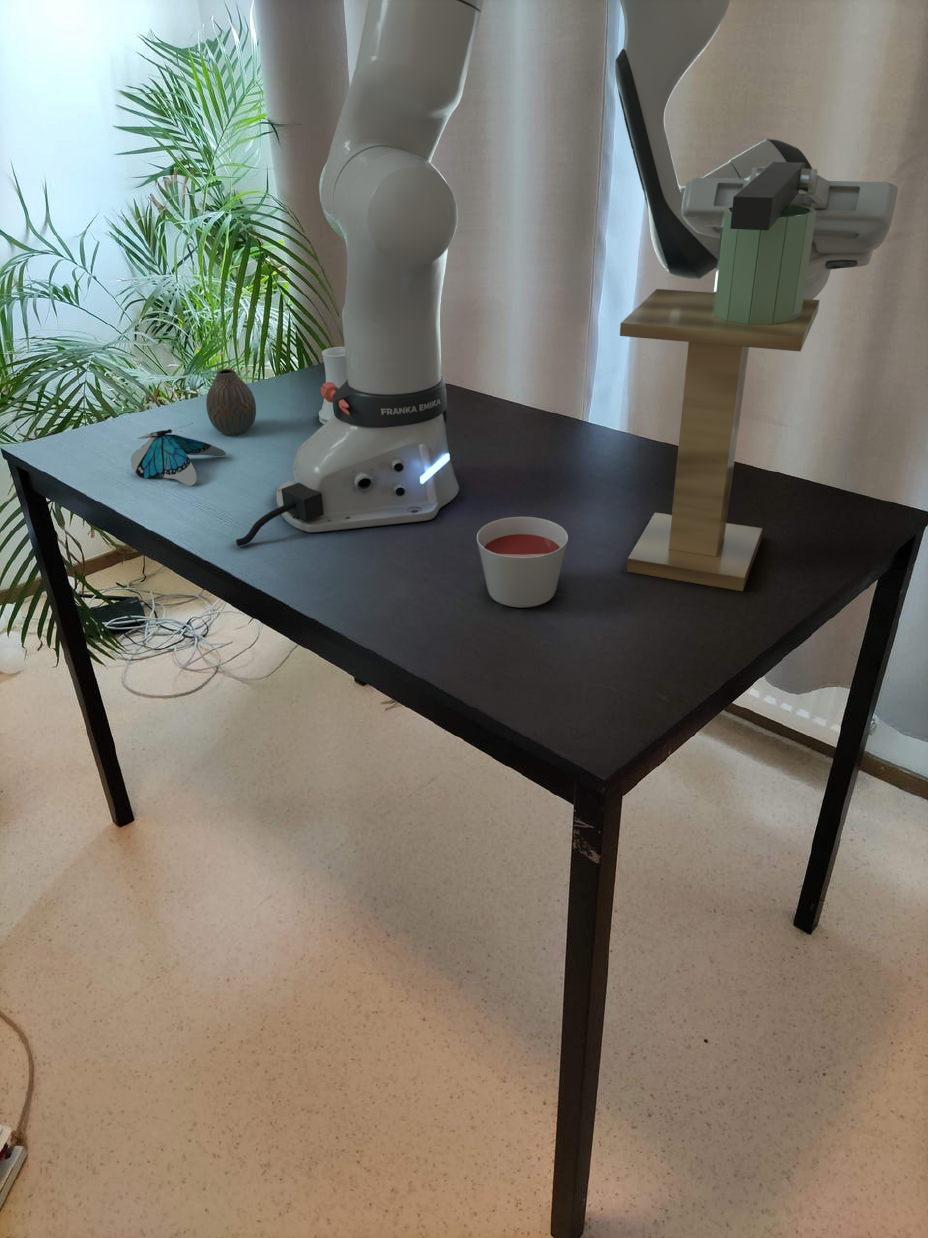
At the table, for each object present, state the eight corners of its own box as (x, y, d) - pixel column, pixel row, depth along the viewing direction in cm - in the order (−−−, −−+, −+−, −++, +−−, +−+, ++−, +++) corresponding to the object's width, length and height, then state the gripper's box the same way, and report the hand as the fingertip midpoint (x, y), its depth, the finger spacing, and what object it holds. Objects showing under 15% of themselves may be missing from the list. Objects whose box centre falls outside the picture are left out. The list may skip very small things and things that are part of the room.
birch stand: (761, 599, 97) (802, 337, 83) (605, 572, 102) (620, 322, 89) (780, 540, 108) (819, 299, 94) (638, 518, 113) (656, 288, 100)
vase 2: (309, 418, 145) (301, 351, 140) (349, 406, 149) (344, 340, 144) (339, 430, 140) (333, 362, 135) (380, 417, 145) (375, 350, 139)
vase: (253, 438, 138) (245, 378, 134) (205, 439, 139) (195, 379, 134) (263, 421, 144) (255, 363, 140) (216, 422, 145) (207, 364, 140)
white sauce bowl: (500, 622, 94) (500, 565, 91) (463, 582, 101) (462, 527, 98) (582, 602, 97) (584, 545, 94) (540, 564, 104) (541, 510, 101)
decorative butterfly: (147, 424, 133) (210, 410, 130) (166, 467, 136) (228, 454, 133) (109, 451, 124) (176, 437, 121) (131, 497, 127) (196, 484, 124)
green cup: (746, 328, 86) (759, 219, 81) (696, 308, 92) (706, 207, 88) (817, 317, 89) (835, 211, 84) (764, 299, 95) (777, 199, 90)
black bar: (768, 230, 77) (772, 197, 75) (729, 228, 78) (733, 196, 76) (801, 189, 94) (805, 162, 93) (769, 188, 95) (772, 161, 94)
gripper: (696, 198, 107) (677, 140, 94) (896, 204, 100) (906, 142, 87) (685, 256, 107) (665, 206, 94) (884, 266, 100) (892, 214, 87)
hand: (783, 175), depth 90 cm, fingers closed on black bar, 3 cm apart
